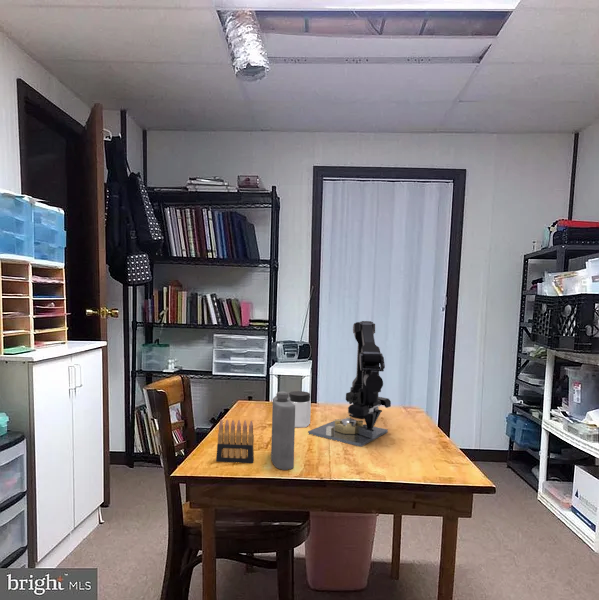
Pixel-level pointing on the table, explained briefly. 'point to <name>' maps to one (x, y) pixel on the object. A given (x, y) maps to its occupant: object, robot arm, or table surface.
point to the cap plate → (353, 439)
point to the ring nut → (354, 428)
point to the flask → (283, 431)
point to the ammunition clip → (236, 450)
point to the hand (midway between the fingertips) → (369, 430)
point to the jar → (301, 407)
